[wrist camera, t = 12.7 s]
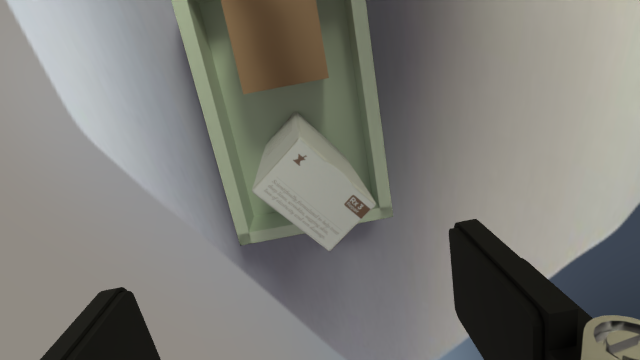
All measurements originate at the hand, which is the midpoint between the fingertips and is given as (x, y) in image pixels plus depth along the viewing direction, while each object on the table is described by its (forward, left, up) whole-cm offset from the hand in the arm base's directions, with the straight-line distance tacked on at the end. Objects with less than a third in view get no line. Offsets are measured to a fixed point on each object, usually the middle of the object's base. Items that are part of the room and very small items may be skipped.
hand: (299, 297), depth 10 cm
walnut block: (0, -8, -22) cm, 23 cm away
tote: (0, -3, -22) cm, 23 cm away
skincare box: (-1, +1, -22) cm, 22 cm away
